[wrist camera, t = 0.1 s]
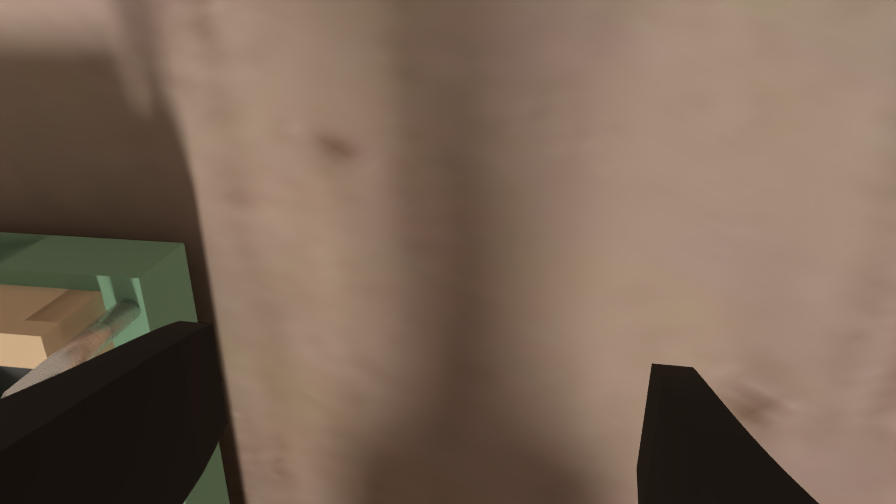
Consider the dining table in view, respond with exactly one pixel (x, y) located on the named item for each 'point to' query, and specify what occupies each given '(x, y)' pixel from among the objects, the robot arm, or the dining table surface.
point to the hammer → (83, 344)
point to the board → (91, 305)
